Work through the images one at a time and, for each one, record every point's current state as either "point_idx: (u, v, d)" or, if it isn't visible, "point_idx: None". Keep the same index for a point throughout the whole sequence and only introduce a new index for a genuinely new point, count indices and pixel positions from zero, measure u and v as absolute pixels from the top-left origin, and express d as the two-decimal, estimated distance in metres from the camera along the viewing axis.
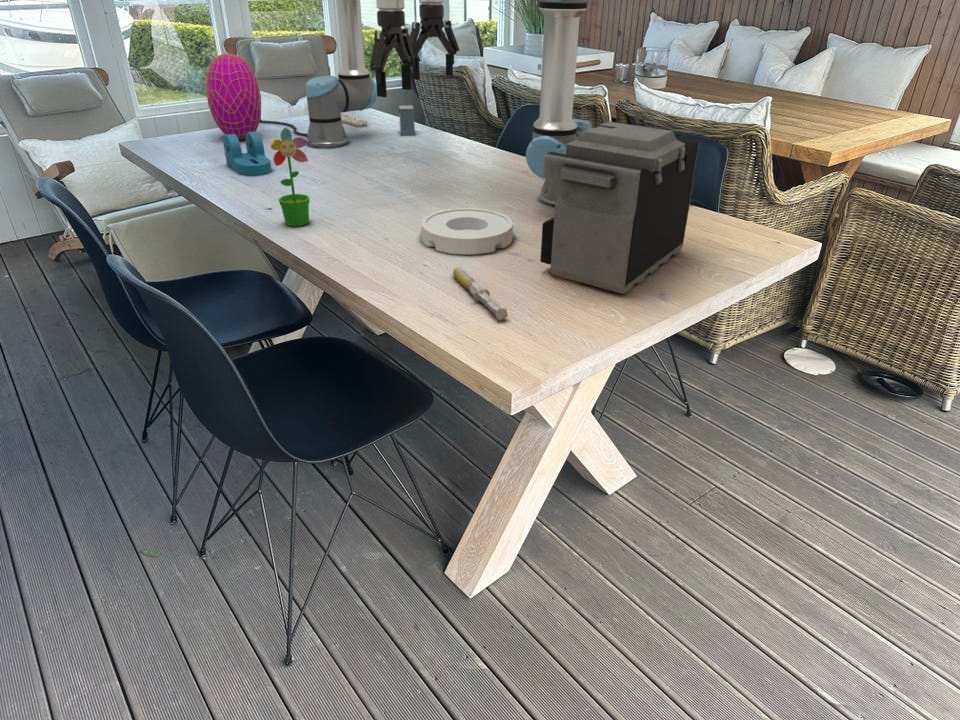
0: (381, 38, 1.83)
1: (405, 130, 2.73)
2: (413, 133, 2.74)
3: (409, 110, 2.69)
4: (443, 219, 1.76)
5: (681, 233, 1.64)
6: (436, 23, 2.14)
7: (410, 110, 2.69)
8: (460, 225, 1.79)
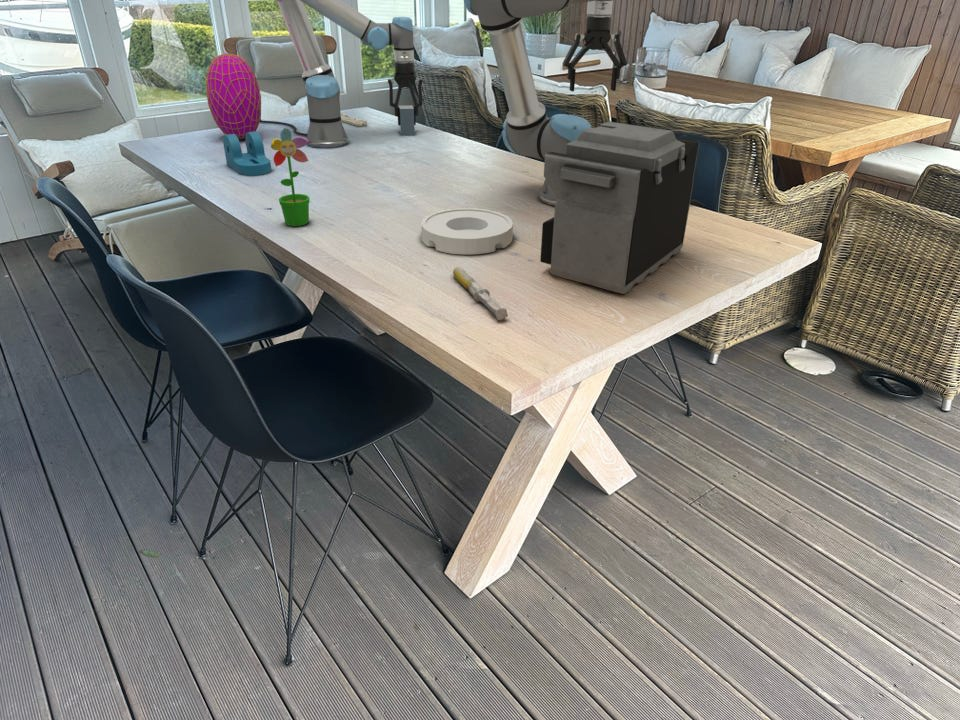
0: None
1: (405, 130, 2.73)
2: (413, 133, 2.74)
3: (409, 110, 2.69)
4: (443, 219, 1.76)
5: (681, 233, 1.64)
6: (407, 77, 2.65)
7: (410, 110, 2.69)
8: (460, 225, 1.79)
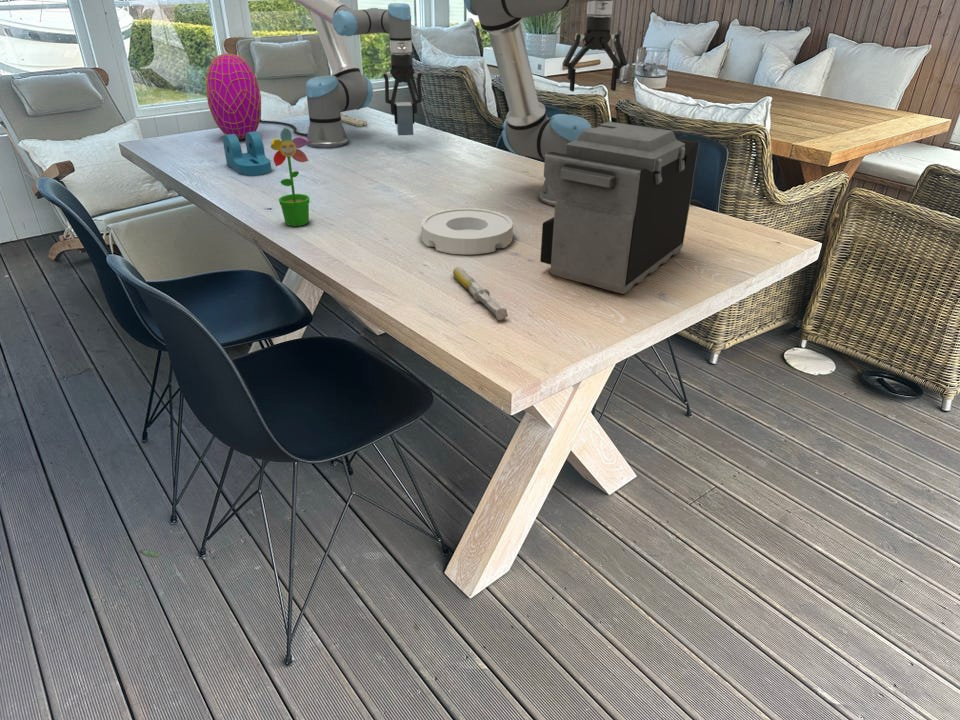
0: None
1: (403, 129, 2.47)
2: (412, 133, 2.48)
3: (407, 107, 2.43)
4: (443, 219, 1.76)
5: (681, 233, 1.64)
6: (405, 70, 2.39)
7: (408, 107, 2.43)
8: (460, 225, 1.79)
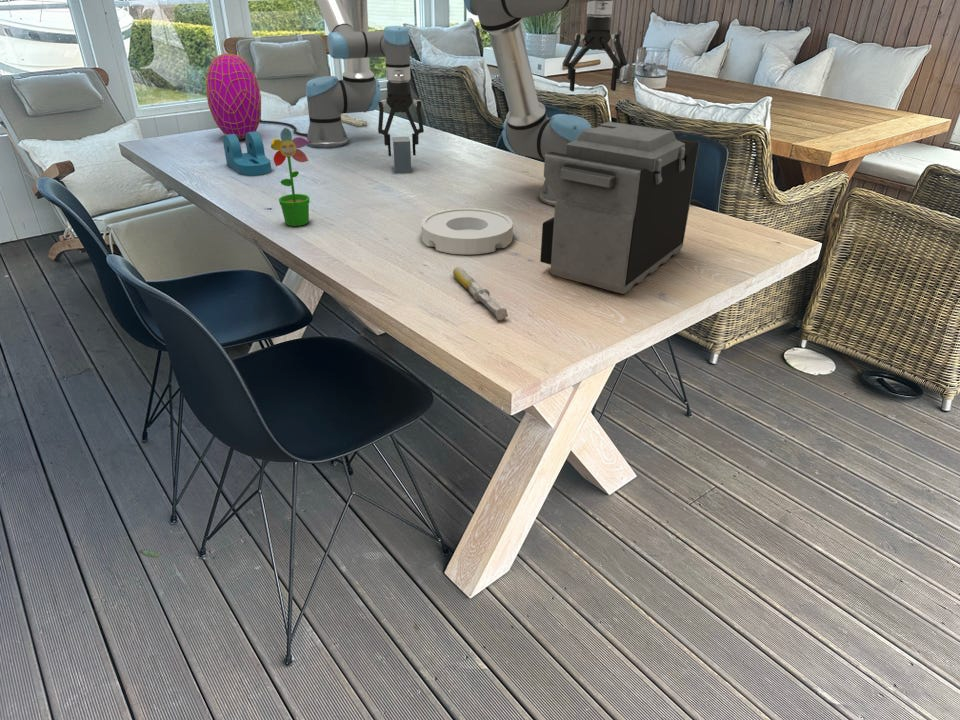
0: None
1: (400, 167, 2.26)
2: (410, 170, 2.27)
3: (405, 143, 2.22)
4: (443, 219, 1.76)
5: (681, 233, 1.64)
6: (402, 99, 2.17)
7: (406, 143, 2.22)
8: (460, 225, 1.79)
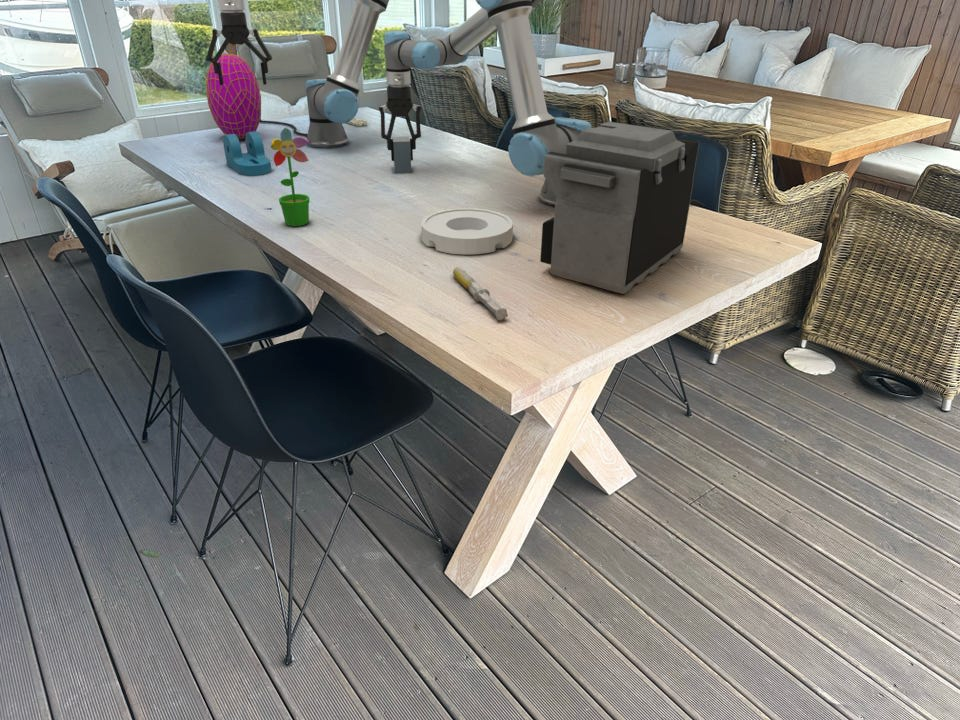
0: None
1: (400, 167, 2.26)
2: (410, 170, 2.27)
3: (405, 143, 2.22)
4: (443, 219, 1.76)
5: (681, 233, 1.64)
6: (238, 31, 2.16)
7: (406, 143, 2.22)
8: (460, 225, 1.79)
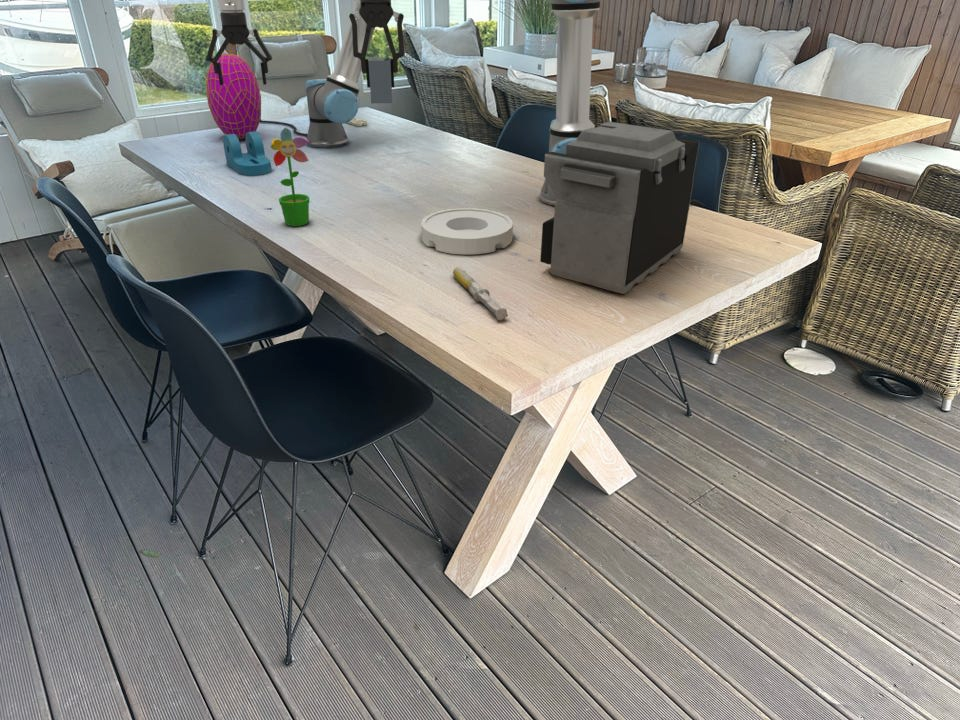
0: None
1: (377, 95, 1.77)
2: (390, 100, 1.78)
3: (383, 63, 1.73)
4: (443, 219, 1.76)
5: (681, 233, 1.64)
6: (238, 31, 2.16)
7: (385, 63, 1.73)
8: (460, 225, 1.79)
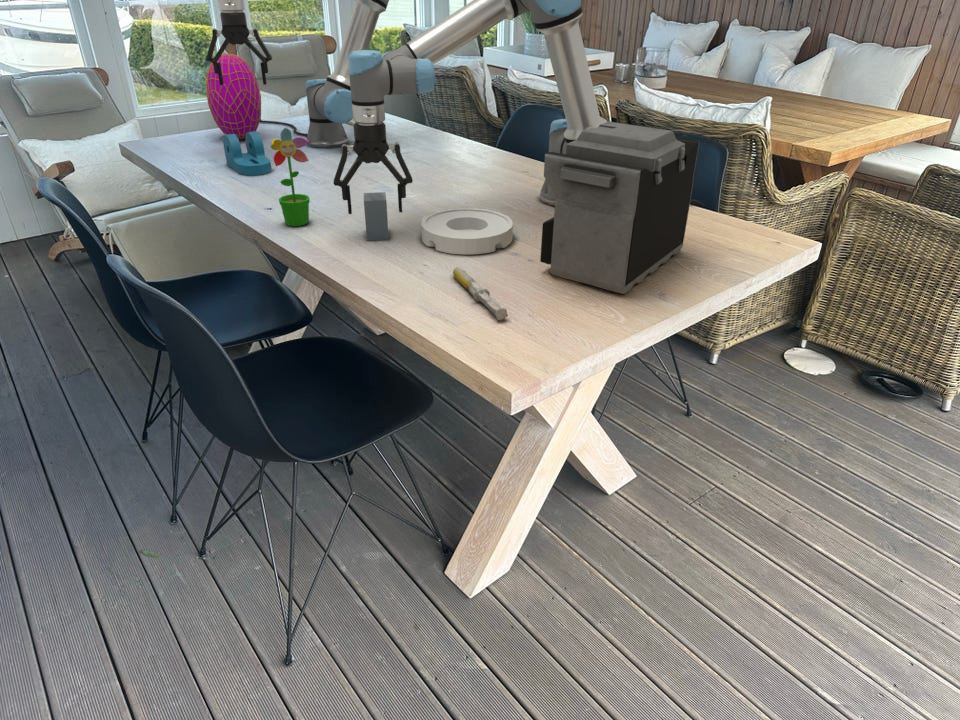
0: None
1: (373, 232, 1.72)
2: (386, 237, 1.73)
3: (379, 203, 1.69)
4: (443, 219, 1.76)
5: (681, 233, 1.64)
6: (238, 31, 2.16)
7: (381, 203, 1.69)
8: (460, 225, 1.79)
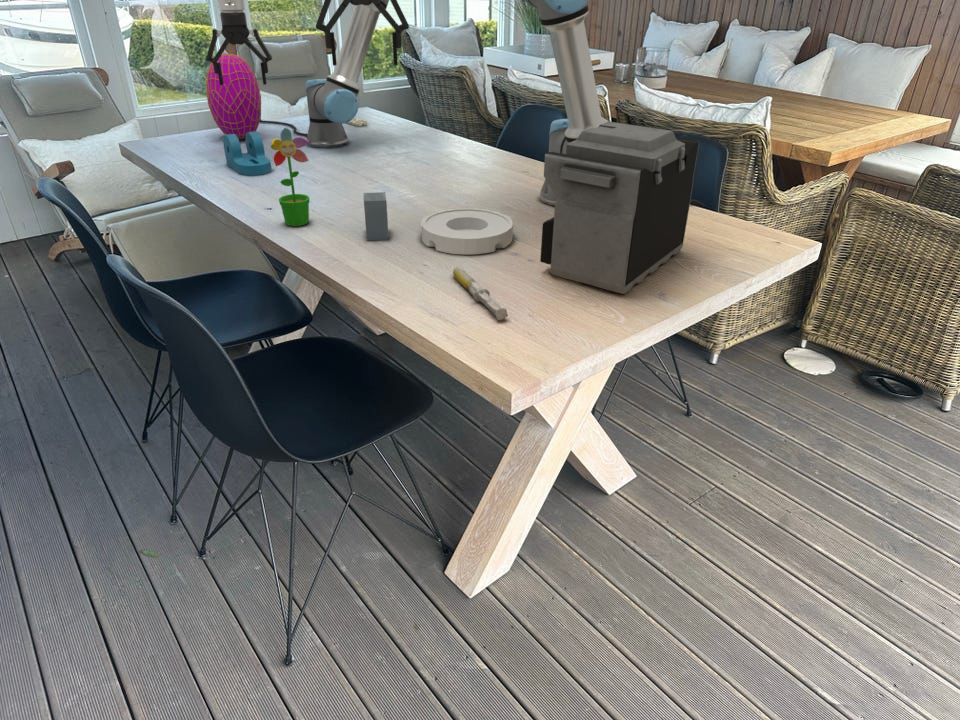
0: None
1: (373, 232, 1.72)
2: (386, 237, 1.73)
3: (379, 203, 1.69)
4: (443, 219, 1.76)
5: (681, 233, 1.64)
6: (238, 31, 2.16)
7: (381, 203, 1.69)
8: (460, 225, 1.79)
